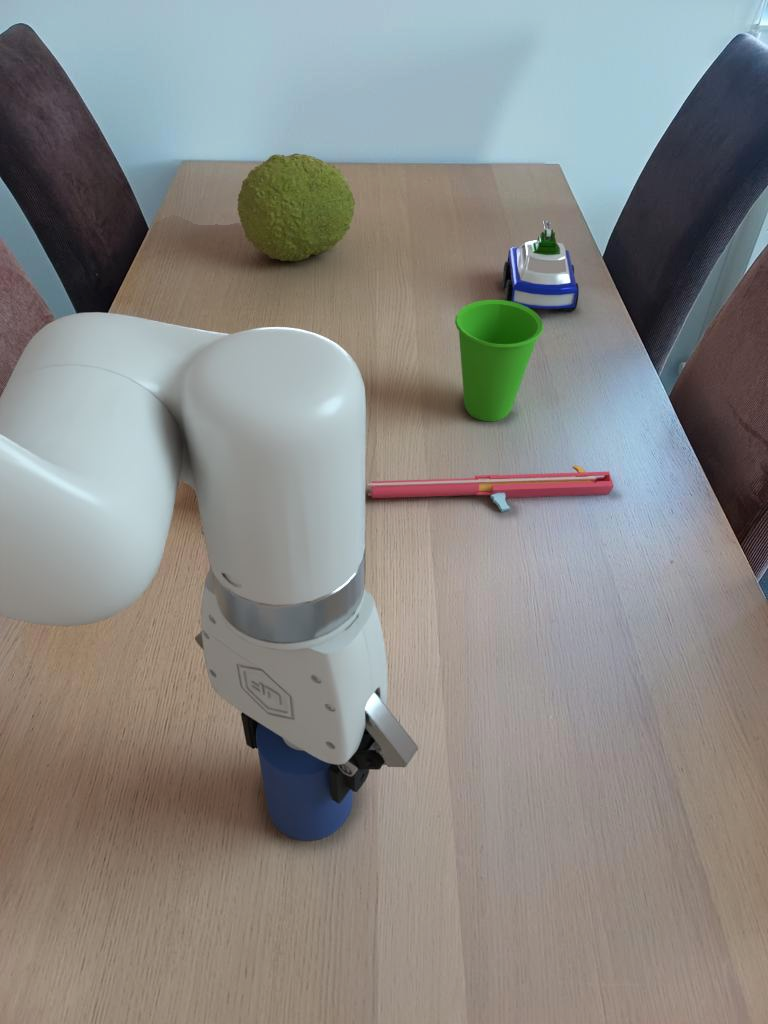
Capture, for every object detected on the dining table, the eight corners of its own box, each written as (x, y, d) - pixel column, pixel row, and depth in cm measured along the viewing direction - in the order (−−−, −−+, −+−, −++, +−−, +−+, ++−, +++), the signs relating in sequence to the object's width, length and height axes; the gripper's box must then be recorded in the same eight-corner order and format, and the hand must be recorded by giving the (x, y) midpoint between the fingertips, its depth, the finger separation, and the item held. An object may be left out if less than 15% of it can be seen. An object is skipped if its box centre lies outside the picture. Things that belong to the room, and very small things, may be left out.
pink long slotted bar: (611, 512, 79) (602, 471, 82) (618, 501, 78) (609, 460, 80) (369, 520, 78) (367, 478, 80) (369, 510, 76) (367, 467, 78)
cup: (444, 428, 87) (452, 340, 80) (450, 381, 94) (458, 295, 86) (527, 437, 86) (543, 349, 79) (528, 388, 93) (543, 303, 85)
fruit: (290, 218, 125) (335, 132, 115) (340, 283, 121) (391, 200, 111) (204, 214, 113) (245, 118, 103) (257, 286, 109) (305, 193, 99)
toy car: (567, 277, 113) (579, 211, 106) (577, 322, 104) (591, 253, 97) (500, 274, 113) (509, 208, 106) (505, 319, 104) (515, 249, 98)
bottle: (319, 858, 53) (312, 776, 46) (249, 810, 56) (232, 725, 48) (369, 787, 57) (370, 701, 50) (301, 745, 59) (293, 656, 52)
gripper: (109, 546, 41) (168, 734, 53) (396, 710, 34) (386, 880, 47) (209, 467, 46) (241, 657, 58) (478, 597, 39) (450, 780, 51)
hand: (306, 755), depth 52 cm, fingers closed on bottle, 6 cm apart
